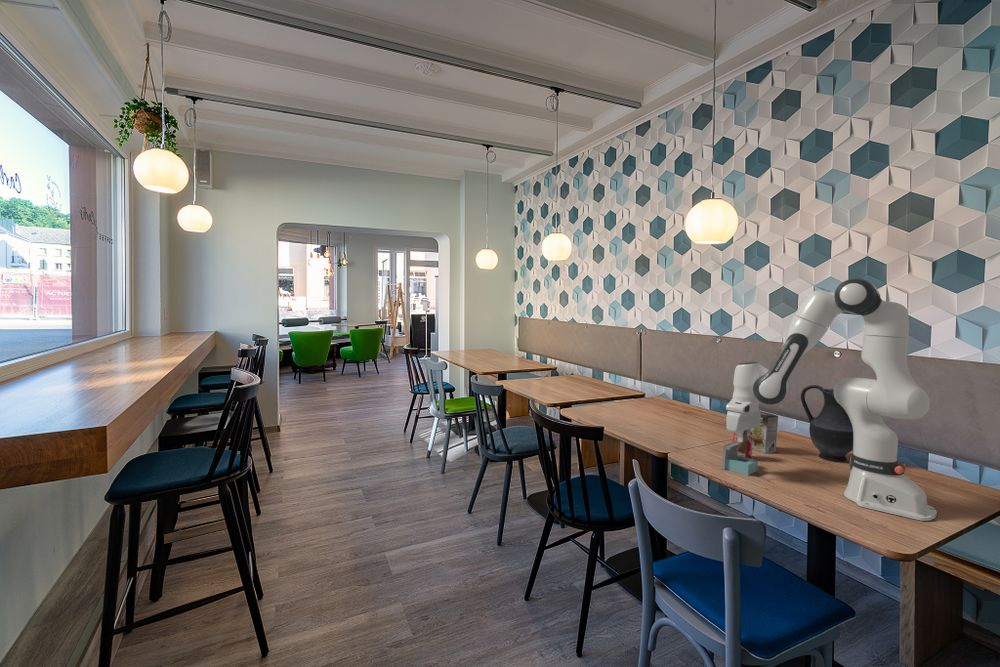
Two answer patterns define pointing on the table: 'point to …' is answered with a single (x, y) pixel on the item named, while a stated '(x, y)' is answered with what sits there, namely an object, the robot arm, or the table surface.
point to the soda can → (749, 446)
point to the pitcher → (830, 427)
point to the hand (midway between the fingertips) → (743, 440)
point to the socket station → (737, 460)
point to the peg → (743, 443)
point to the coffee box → (765, 433)
